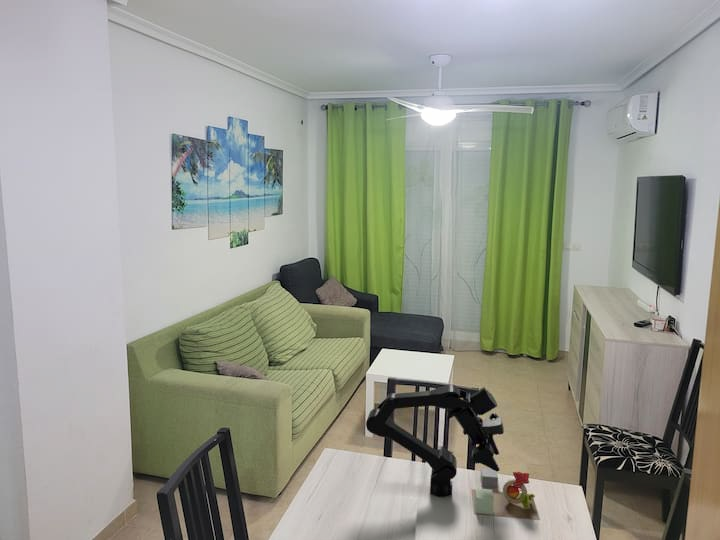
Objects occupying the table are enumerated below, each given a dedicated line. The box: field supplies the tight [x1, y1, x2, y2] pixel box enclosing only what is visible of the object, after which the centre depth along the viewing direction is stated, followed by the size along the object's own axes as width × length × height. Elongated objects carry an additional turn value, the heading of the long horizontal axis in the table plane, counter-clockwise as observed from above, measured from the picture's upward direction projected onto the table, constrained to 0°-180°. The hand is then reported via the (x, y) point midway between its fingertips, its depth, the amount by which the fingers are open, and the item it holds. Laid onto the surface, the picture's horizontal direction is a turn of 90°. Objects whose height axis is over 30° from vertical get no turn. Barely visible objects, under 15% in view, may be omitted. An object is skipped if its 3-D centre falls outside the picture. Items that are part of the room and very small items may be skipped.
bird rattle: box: [502, 471, 536, 509], centre depth 167 cm, size 6×11×9 cm
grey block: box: [480, 467, 499, 488], centre depth 180 cm, size 5×5×5 cm
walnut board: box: [471, 488, 541, 521], centre depth 168 cm, size 19×13×2 cm
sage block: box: [475, 487, 494, 515], centre depth 165 cm, size 5×5×5 cm
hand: (498, 462), depth 169 cm, fingers open, 9 cm apart
